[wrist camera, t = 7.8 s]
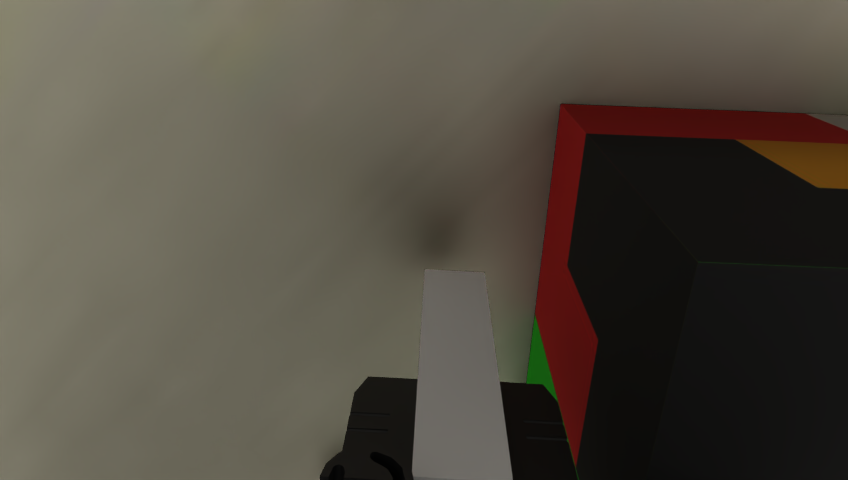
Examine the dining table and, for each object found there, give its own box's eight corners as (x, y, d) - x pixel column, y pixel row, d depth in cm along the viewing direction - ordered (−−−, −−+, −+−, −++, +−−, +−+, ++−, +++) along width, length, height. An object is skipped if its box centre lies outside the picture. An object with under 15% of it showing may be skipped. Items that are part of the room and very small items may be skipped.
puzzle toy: (927, 118, 17) (1505, 296, 8) (819, 411, 21) (1112, 756, 12) (560, 103, 17) (698, 262, 8) (524, 397, 21) (587, 728, 12)
